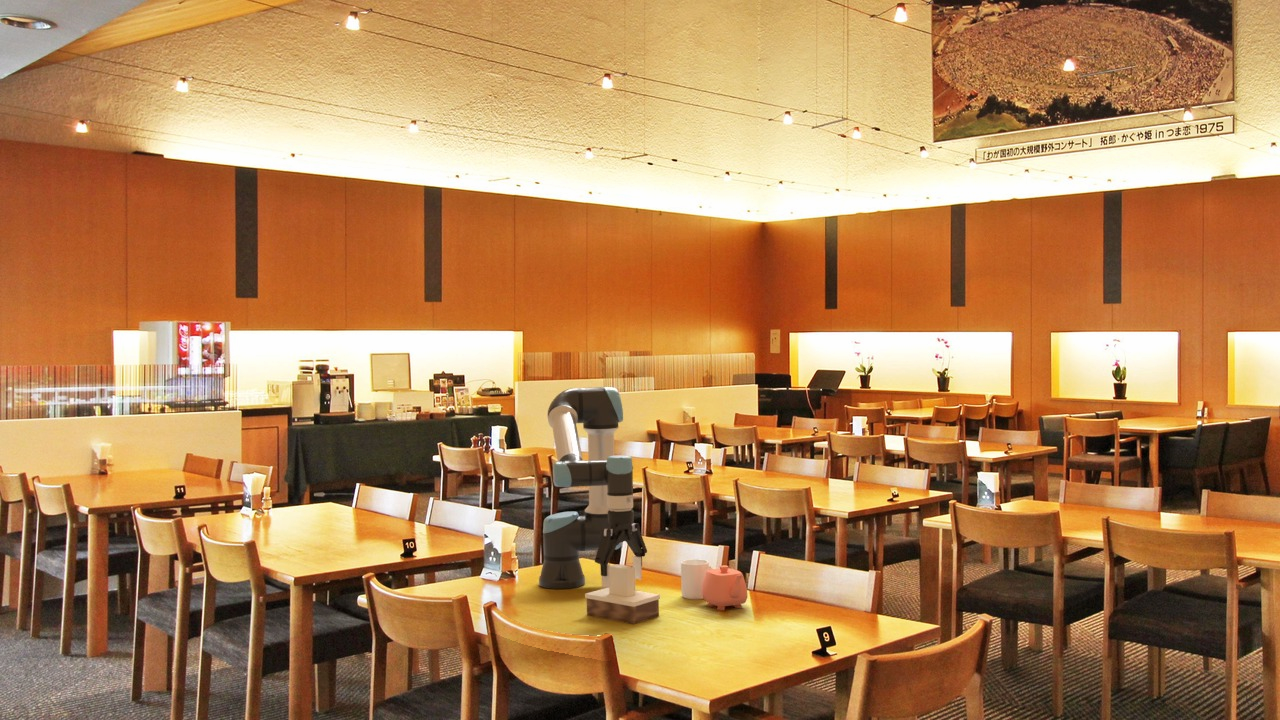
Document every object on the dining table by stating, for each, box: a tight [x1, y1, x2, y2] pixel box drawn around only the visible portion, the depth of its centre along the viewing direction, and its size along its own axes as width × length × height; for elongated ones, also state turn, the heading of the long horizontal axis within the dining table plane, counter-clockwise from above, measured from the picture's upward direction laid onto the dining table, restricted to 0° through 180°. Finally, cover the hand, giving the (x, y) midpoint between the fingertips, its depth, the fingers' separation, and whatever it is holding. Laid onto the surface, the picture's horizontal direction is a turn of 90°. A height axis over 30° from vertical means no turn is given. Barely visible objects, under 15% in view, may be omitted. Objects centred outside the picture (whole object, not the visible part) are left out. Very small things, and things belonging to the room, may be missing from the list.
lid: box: [584, 563, 661, 607], centre depth 307 cm, size 19×12×11 cm, turn 50°
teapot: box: [702, 564, 748, 612], centre depth 316 cm, size 20×12×12 cm, turn 25°
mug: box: [680, 558, 714, 600], centre depth 331 cm, size 9×12×11 cm
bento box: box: [586, 598, 660, 625], centre depth 307 cm, size 18×11×5 cm, turn 50°
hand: (622, 583), depth 307 cm, fingers open, 13 cm apart
